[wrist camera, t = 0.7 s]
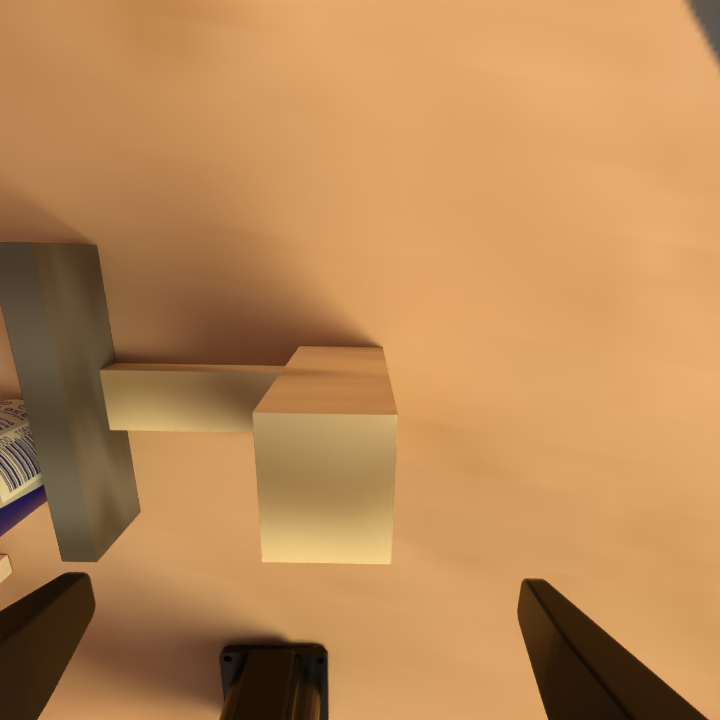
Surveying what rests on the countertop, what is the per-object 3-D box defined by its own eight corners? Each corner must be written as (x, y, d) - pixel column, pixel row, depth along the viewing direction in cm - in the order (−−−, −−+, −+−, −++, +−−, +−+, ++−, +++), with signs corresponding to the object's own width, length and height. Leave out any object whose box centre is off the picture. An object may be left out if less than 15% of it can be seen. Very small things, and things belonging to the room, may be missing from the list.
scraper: (377, 515, 21) (386, 672, 13) (111, 511, 21) (-40, 664, 13) (385, 249, 17) (405, 243, 9) (61, 244, 17) (-194, 234, 9)
